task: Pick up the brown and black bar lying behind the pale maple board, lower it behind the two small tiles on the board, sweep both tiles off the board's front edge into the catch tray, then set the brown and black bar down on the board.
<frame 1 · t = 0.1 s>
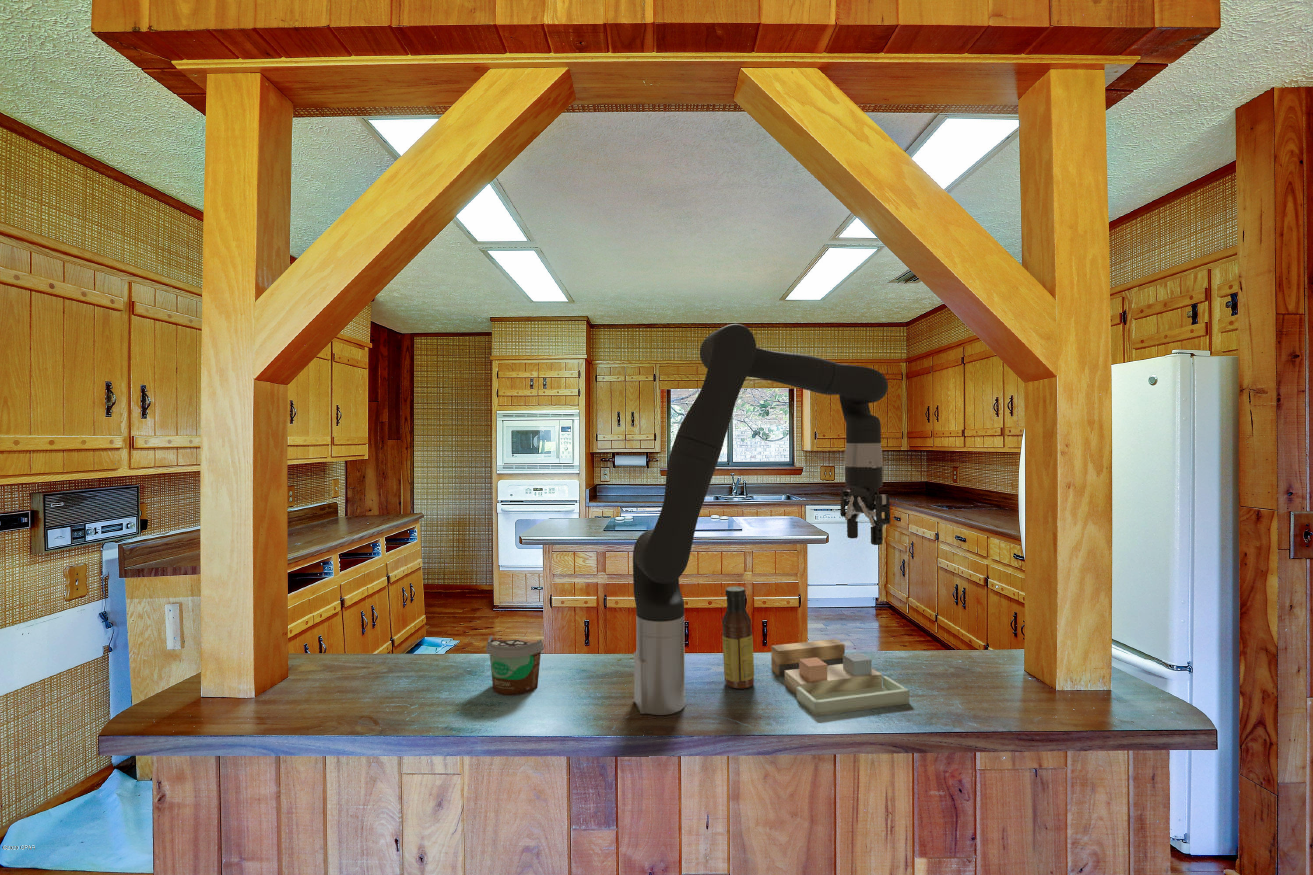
hand: (864, 541, 123), 29 cm above the countertop, tool pointing down, fingers open, 8 cm apart
board: (832, 686, 119), on the countertop
food container: (509, 692, 118), on the countertop
sauce bottle: (738, 684, 121), on the countertop
brown and black bar: (808, 669, 129), on the countertop
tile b: (857, 671, 119), point 3 cm above the countertop, touching board
catch tray: (852, 701, 112), on the countertop
tile a: (813, 676, 117), point 3 cm above the countertop, touching board
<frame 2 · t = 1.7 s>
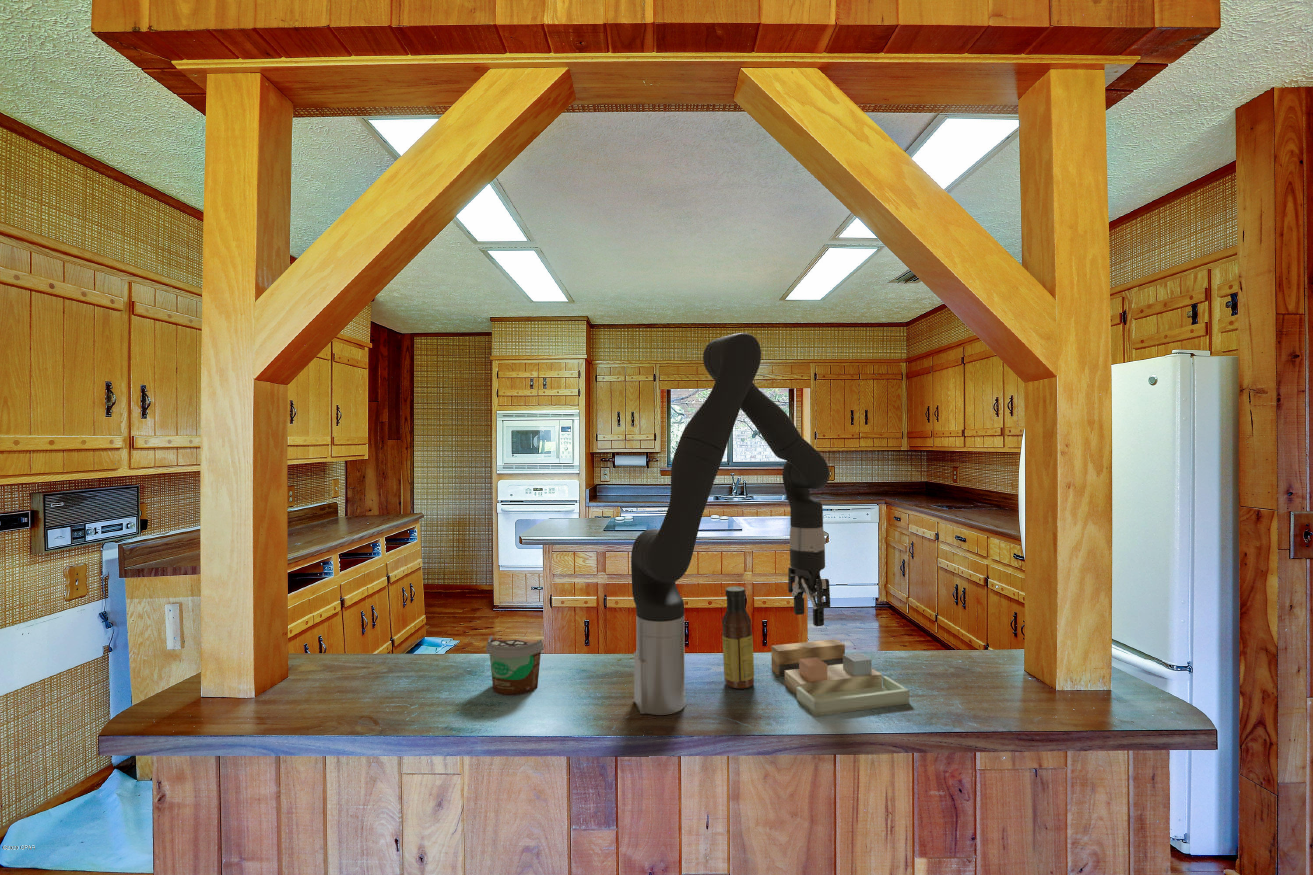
hand: (808, 619, 129), 11 cm above the countertop, tool pointing down, fingers open, 8 cm apart
nothing on the countertop moved.
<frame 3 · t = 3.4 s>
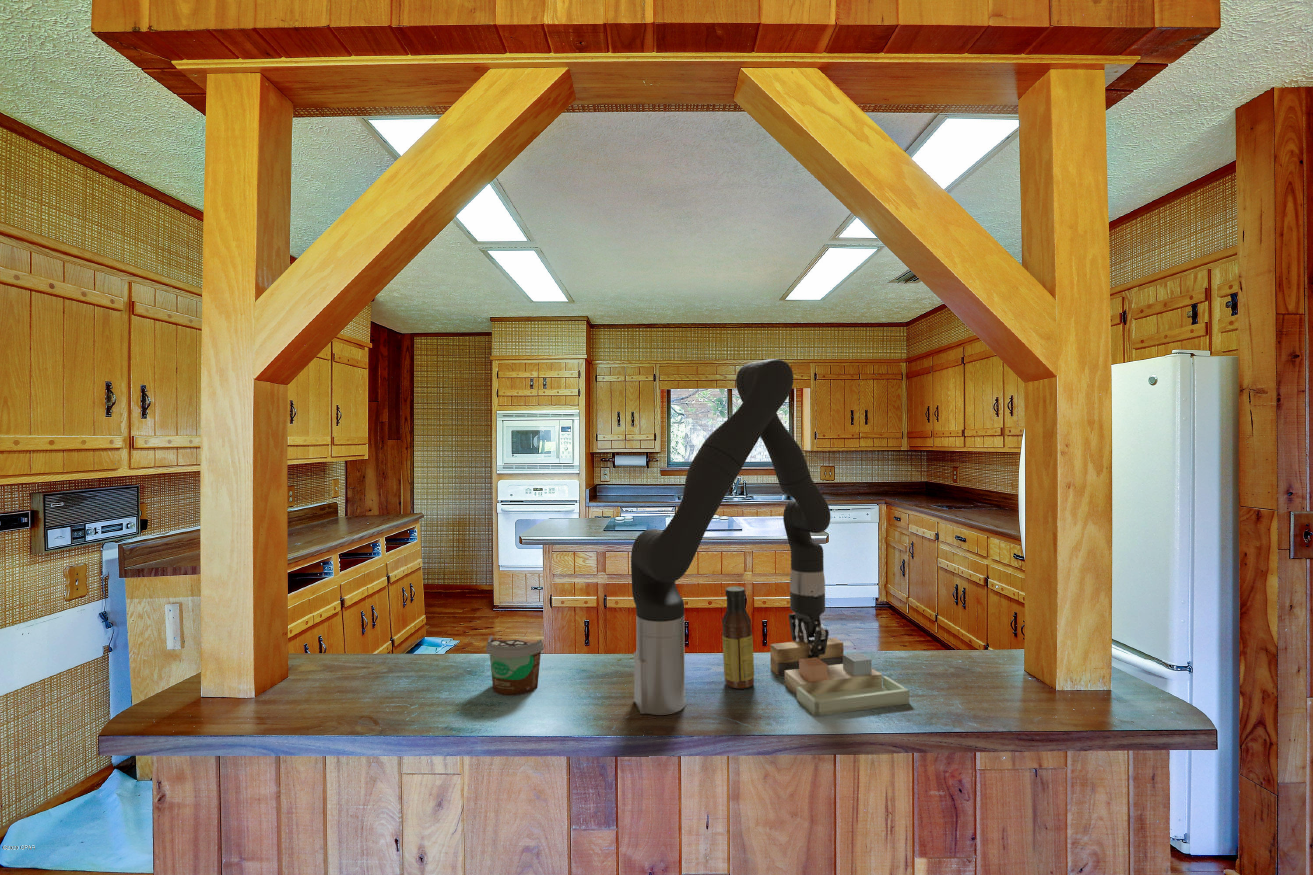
hand: (808, 666, 129), 0 cm above the countertop, tool pointing down, fingers closed on brown and black bar, 4 cm apart
brown and black bar: (807, 668, 129), on the countertop, touching gripper
everything else where it was.
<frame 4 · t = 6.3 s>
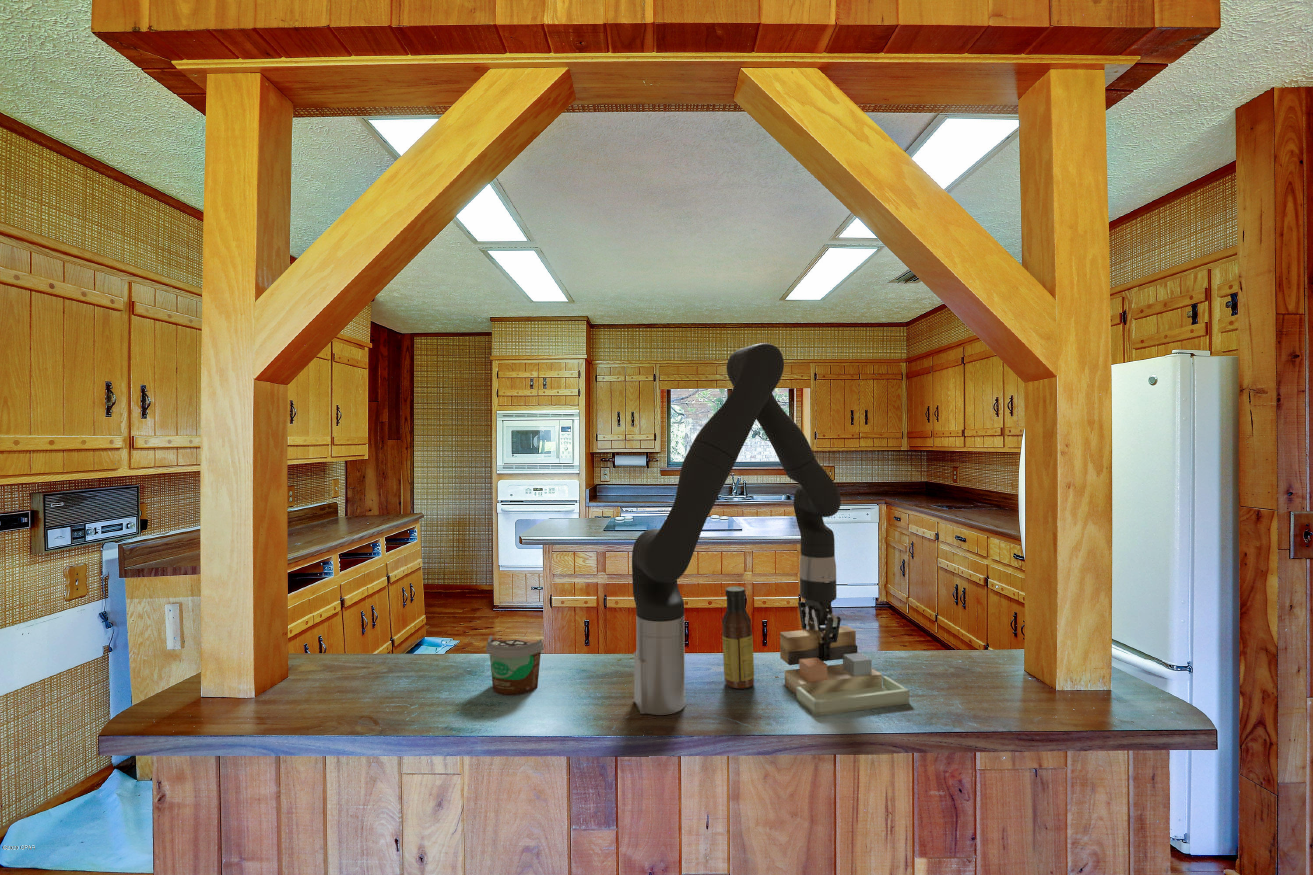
hand: (819, 655, 124), 4 cm above the countertop, tool pointing down, fingers closed on brown and black bar, 4 cm apart
brown and black bar: (818, 657, 125), point 4 cm above the countertop, touching gripper
everything else where it was.
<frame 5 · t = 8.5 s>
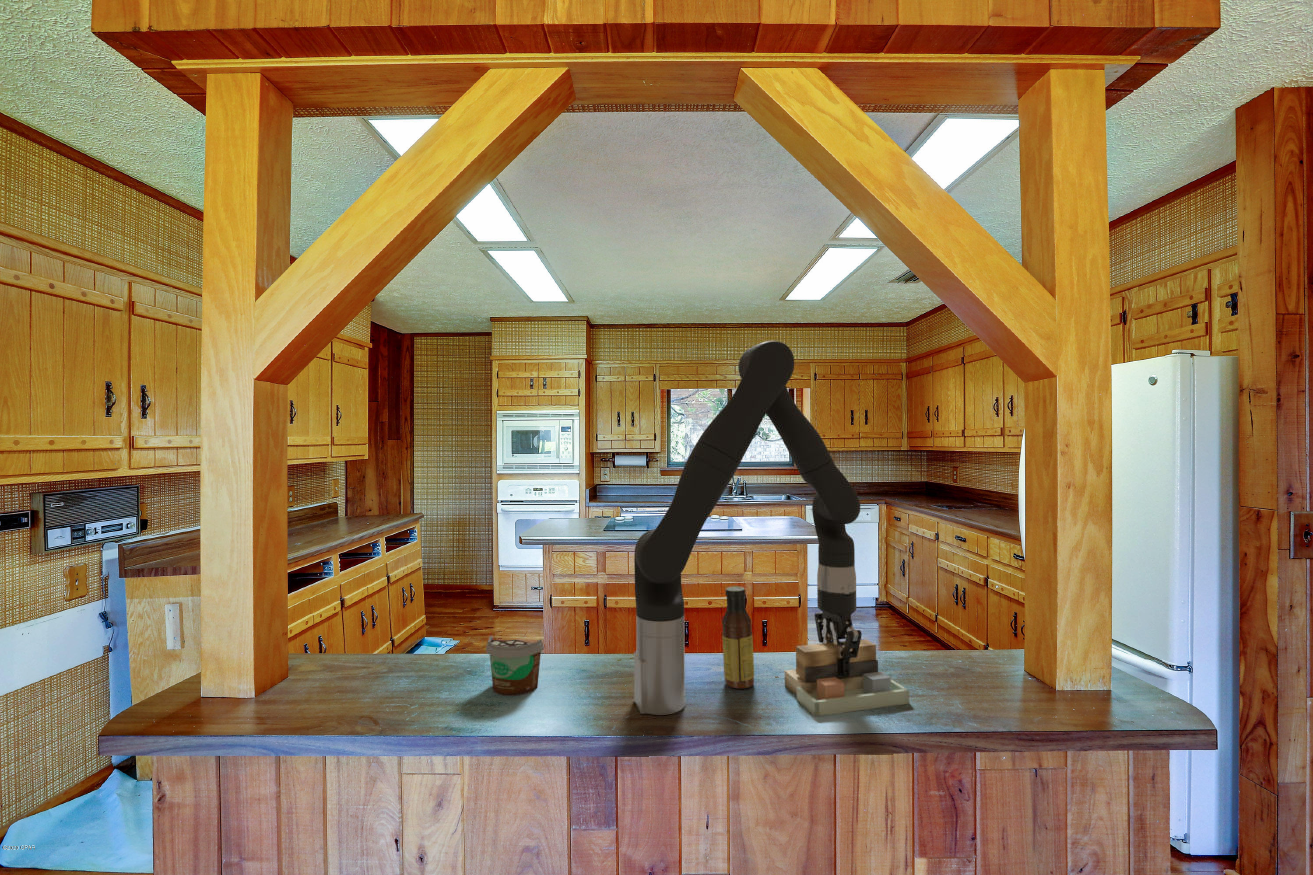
hand: (837, 671, 117), 4 cm above the countertop, tool pointing down, fingers closed on brown and black bar, 4 cm apart
brown and black bar: (836, 672, 118), point 3 cm above the countertop, touching gripper
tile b: (872, 682, 115), point 3 cm above the countertop, tilted 90°, touching catch tray
tile a: (826, 688, 112), point 3 cm above the countertop, tilted 90°, touching catch tray
everything else where it was.
when the fingers open (4 cm above the countertop, at t = 9.7 s): brown and black bar stays where it is, resting on board.
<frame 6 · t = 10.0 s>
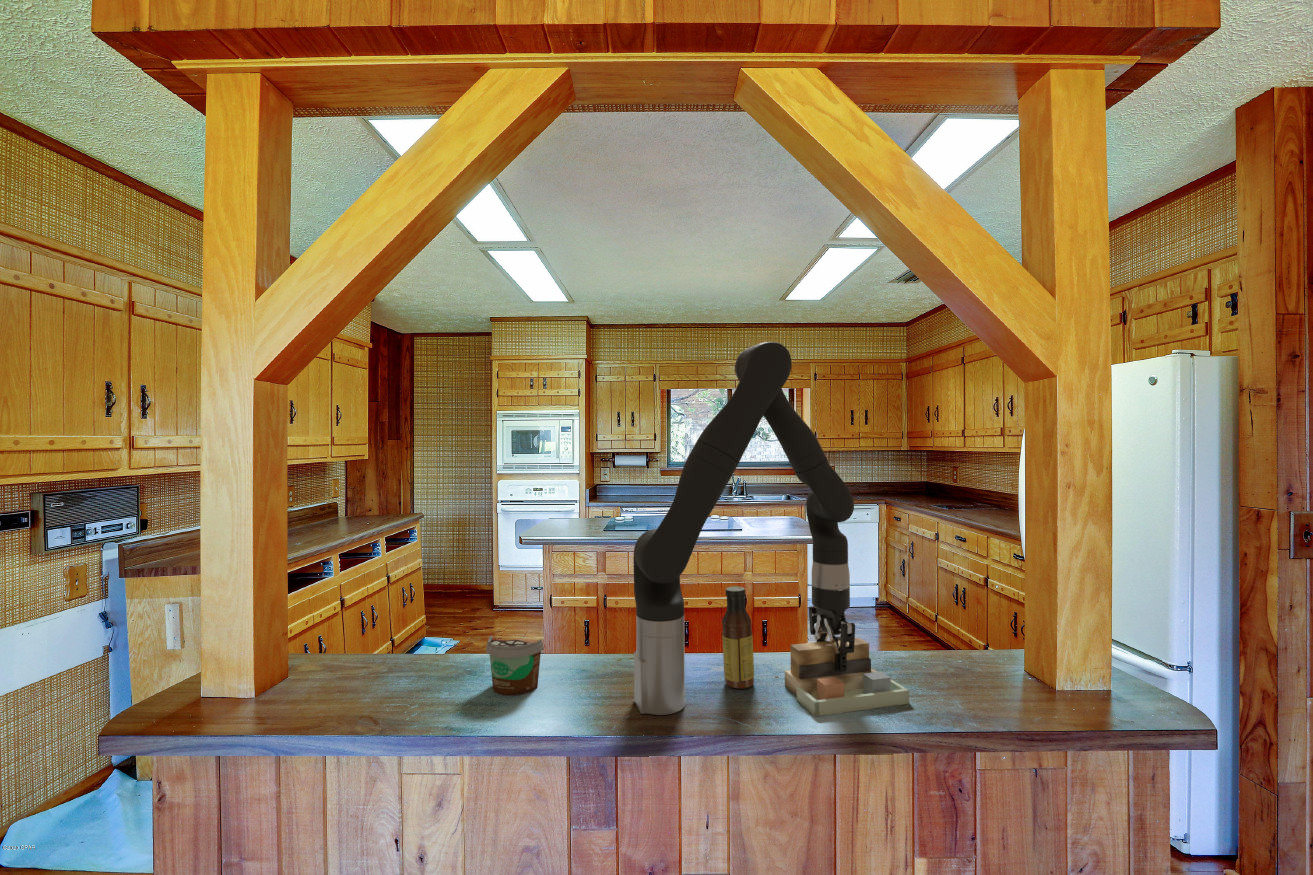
hand: (831, 664, 120), 4 cm above the countertop, tool pointing down, fingers open, 6 cm apart
brown and black bar: (830, 670, 120), point 3 cm above the countertop, touching board
everything else where it was.
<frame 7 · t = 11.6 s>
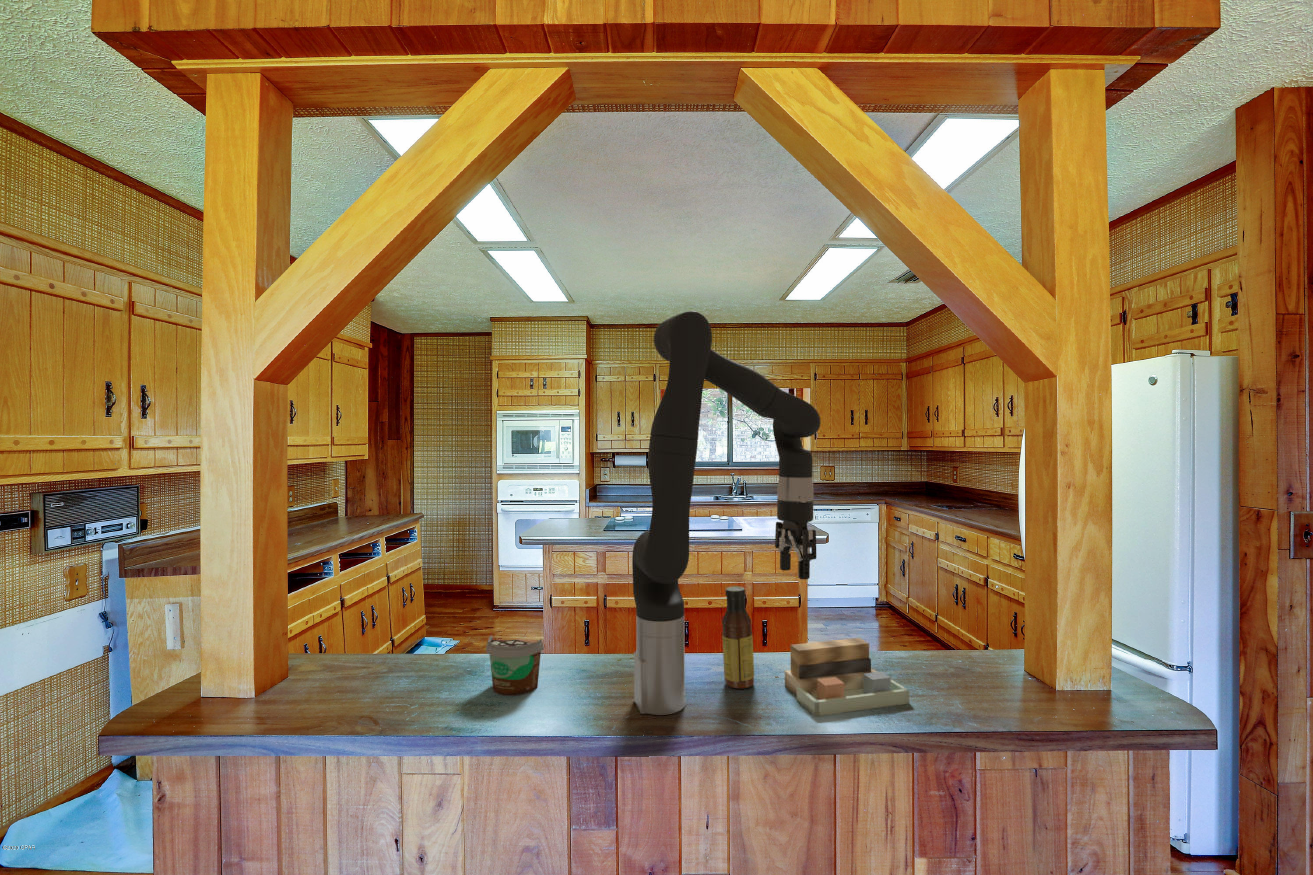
hand: (794, 574, 124), 22 cm above the countertop, tool pointing down, fingers open, 8 cm apart
nothing on the countertop moved.
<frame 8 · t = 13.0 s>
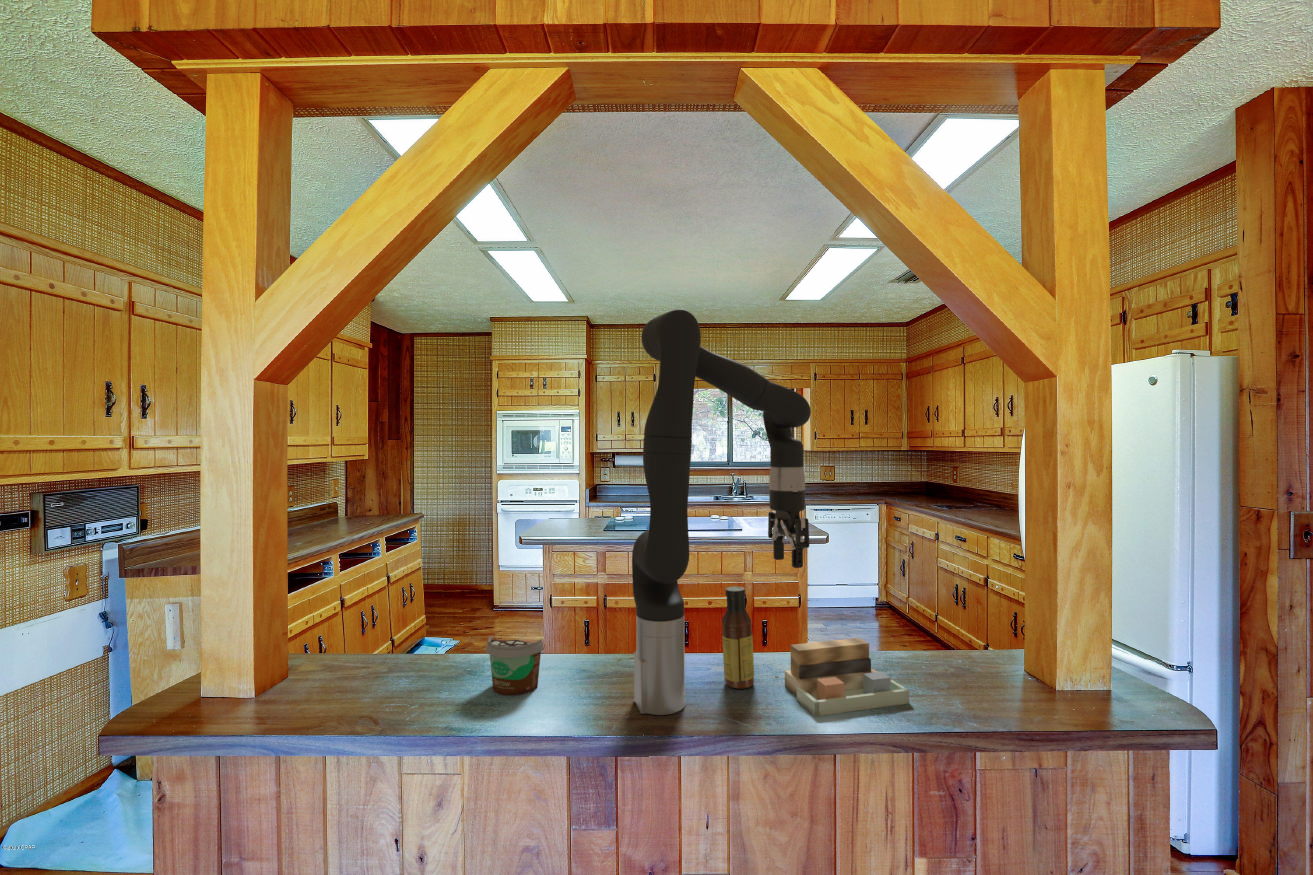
hand: (787, 563, 125), 24 cm above the countertop, tool pointing down, fingers open, 8 cm apart
nothing on the countertop moved.
at the end: tile a inside the target area (5.1 cm from its centre), point 2.6 cm above the countertop; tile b inside the target area (5.4 cm from its centre), point 2.6 cm above the countertop; the gripper is holding nothing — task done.
